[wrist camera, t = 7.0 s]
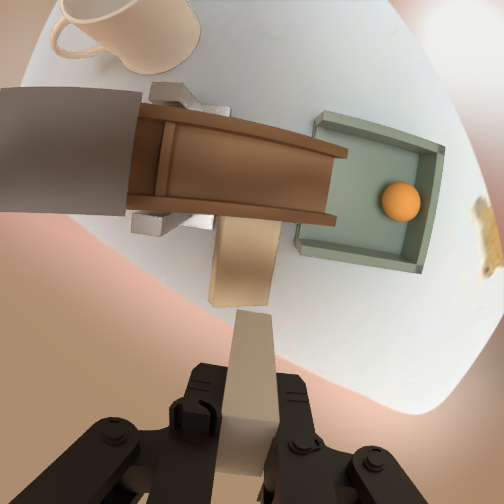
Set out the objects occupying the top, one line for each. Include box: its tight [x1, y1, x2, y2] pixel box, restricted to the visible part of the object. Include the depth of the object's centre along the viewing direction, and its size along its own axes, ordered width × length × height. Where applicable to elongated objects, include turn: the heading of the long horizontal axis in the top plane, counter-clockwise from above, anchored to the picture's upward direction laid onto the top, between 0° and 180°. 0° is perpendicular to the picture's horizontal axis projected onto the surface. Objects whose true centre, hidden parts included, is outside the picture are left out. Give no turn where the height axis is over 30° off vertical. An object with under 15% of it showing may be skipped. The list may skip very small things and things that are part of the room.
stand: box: [131, 82, 231, 237], centre depth 22 cm, size 11×6×10 cm, turn 171°
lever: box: [0, 87, 348, 308], centre depth 18 cm, size 13×22×6 cm, turn 81°
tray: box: [294, 110, 445, 274], centre depth 25 cm, size 12×11×4 cm
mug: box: [50, 0, 200, 75], centre depth 18 cm, size 12×8×12 cm
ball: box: [382, 181, 421, 222], centre depth 25 cm, size 4×4×4 cm
